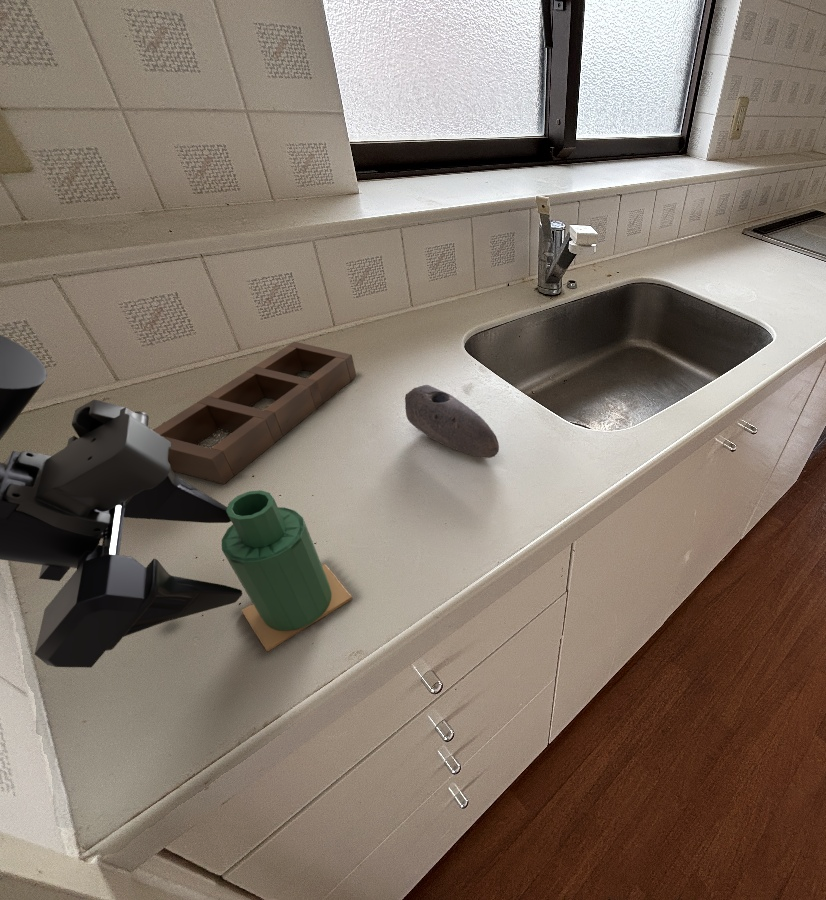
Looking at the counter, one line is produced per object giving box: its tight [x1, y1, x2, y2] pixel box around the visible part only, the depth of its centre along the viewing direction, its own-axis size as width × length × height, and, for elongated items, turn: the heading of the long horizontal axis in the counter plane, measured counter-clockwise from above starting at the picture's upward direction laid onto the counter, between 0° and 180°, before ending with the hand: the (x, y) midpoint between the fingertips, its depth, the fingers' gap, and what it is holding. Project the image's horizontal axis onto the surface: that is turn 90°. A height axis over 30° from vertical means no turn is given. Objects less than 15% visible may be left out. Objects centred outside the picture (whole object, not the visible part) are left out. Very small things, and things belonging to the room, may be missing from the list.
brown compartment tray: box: [152, 341, 357, 485], centre depth 69 cm, size 27×10×4 cm, turn 167°
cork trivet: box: [241, 563, 353, 652], centre depth 49 cm, size 8×6×1 cm
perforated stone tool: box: [404, 384, 500, 459], centre depth 68 cm, size 15×5×7 cm, turn 58°
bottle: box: [221, 489, 332, 631], centre depth 44 cm, size 6×6×14 cm
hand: (235, 554), depth 42 cm, fingers open, 9 cm apart
